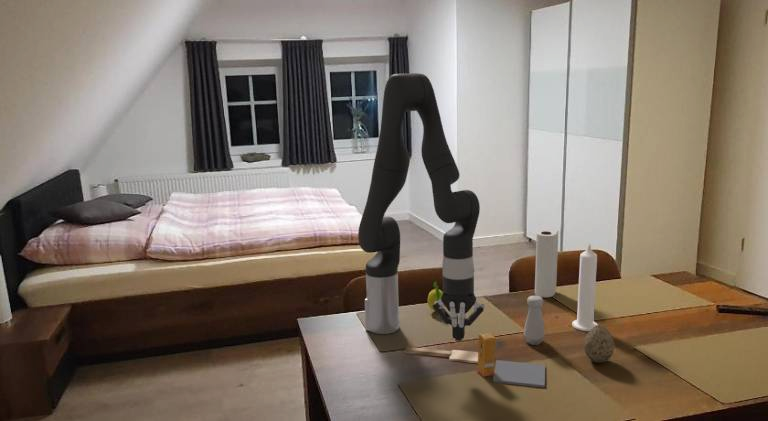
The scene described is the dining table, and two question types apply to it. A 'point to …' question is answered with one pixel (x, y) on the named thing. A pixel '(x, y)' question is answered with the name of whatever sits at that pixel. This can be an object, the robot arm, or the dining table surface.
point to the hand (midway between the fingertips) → (458, 339)
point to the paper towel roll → (546, 263)
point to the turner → (447, 354)
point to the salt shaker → (534, 321)
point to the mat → (519, 373)
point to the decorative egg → (599, 344)
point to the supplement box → (486, 354)
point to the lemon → (434, 296)
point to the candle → (586, 291)
